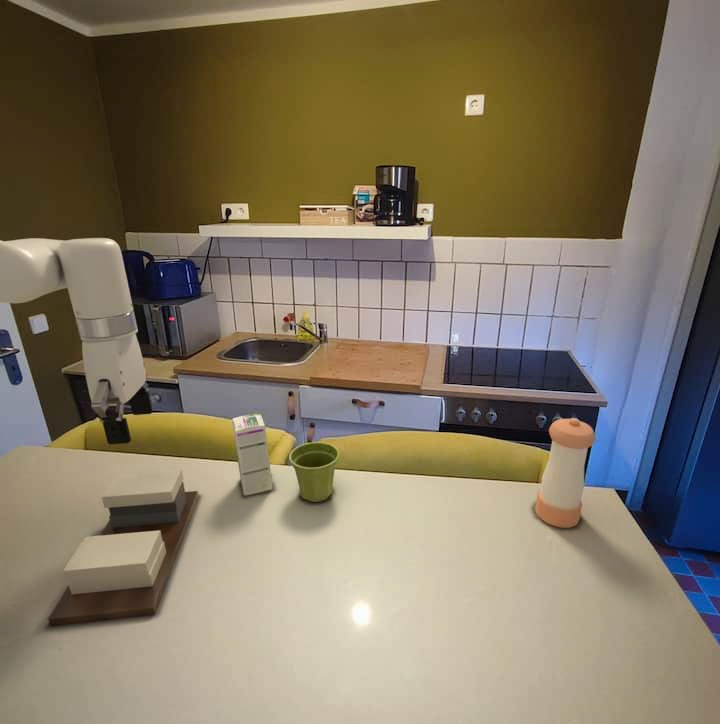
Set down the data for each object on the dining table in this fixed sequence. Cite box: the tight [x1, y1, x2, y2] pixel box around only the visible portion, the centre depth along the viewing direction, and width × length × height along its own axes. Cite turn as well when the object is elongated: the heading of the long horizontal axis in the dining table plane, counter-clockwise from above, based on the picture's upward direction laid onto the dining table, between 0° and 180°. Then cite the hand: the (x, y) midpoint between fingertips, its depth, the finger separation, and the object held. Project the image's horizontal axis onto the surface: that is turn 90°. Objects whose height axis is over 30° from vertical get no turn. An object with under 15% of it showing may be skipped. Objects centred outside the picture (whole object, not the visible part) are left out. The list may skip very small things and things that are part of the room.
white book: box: [101, 468, 184, 509], centre depth 74 cm, size 11×7×2 cm, turn 97°
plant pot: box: [288, 441, 340, 503], centre depth 82 cm, size 9×9×9 cm
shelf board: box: [47, 490, 199, 626], centre depth 70 cm, size 14×26×1 cm, turn 7°
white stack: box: [62, 530, 166, 594], centre depth 63 cm, size 11×7×4 cm, turn 97°
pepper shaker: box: [534, 417, 596, 529], centre depth 74 cm, size 7×7×19 cm
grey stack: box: [108, 481, 186, 528], centre depth 75 cm, size 11×5×5 cm, turn 97°
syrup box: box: [231, 413, 273, 496], centre depth 83 cm, size 6×6×14 cm
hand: (132, 427), depth 69 cm, fingers open, 9 cm apart
